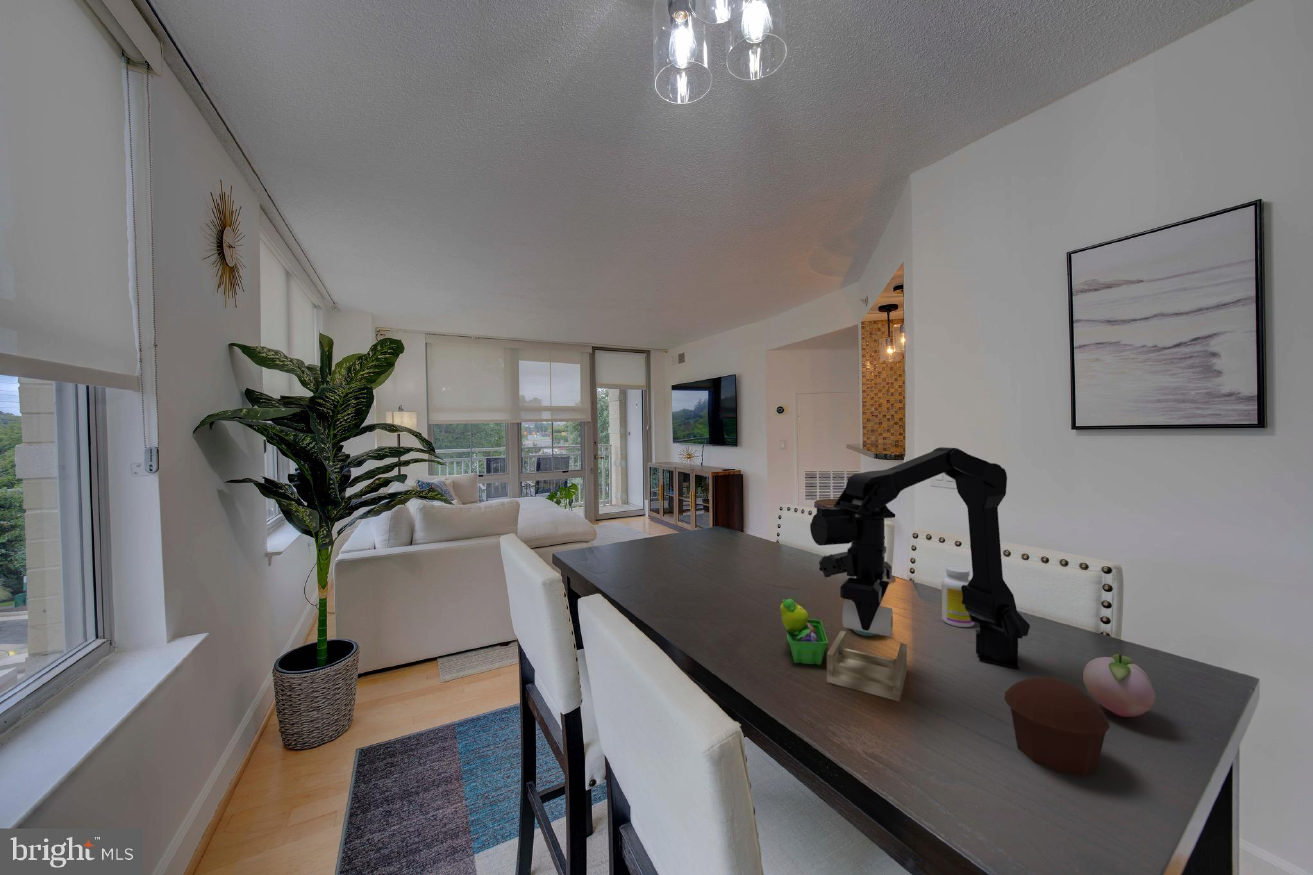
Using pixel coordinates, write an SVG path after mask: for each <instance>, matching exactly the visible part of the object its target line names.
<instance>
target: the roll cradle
mask: <svg viewBox="0 0 1313 875" xmlns="http://www.w3.org/2000/svg"><path fill="white" fill-rule="evenodd" d="M907 646H908V644H907V643H902V642H901V643H900V645H899V648H898V652H897V655H896V657H895V658H890V657H886V656H885V657H884V656H881V655H876V654H872V653H868V652H862V651H858V650H853V649H850V648H847V631H844V630H840V631H839V632H838V635H837V636H836V638H835V639H834V641H833V643H832V644H831V646H830V648H829V649H828V652H827V653H826V682H827V683H829V684H833V685H837V686H840V687H843V688H848V689H851V690H856V691H859V692H864V693H867V694H870V695H873V696H878V697H881V698H885V699H889V700H892V701H897V702H901V697H902V693H903V689H904V684H905V680H906V677H907V668H908V667H907V666H908V665H907V662H908V659H907V656H908V654H907V652H908V649H907V648H908V647H907Z"/></svg>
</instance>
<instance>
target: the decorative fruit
mask: <svg viewBox="0 0 1313 875" xmlns="http://www.w3.org/2000/svg"><path fill="white" fill-rule="evenodd" d="M1082 675H1083V676H1082V679H1083V680H1082V681H1083V684H1084V686H1085V688H1086V690H1087V691H1088V693H1089V694H1090V695H1091V698H1092V699H1095V701H1096V702H1098V703H1099V704H1100V705H1102V706H1103V707H1104V708H1105V709H1107V710H1108V711H1110V712H1112V713H1113V714H1114V715H1117V716H1119V717H1122V718H1123V717H1124V718H1129V717H1130V718H1131V717H1132V718H1133V717H1139V716H1141V715H1143V714H1145V713H1146V712H1148V711H1149V710H1150V709H1151V708H1152V707H1153V705H1154V703H1155V700H1156V692H1155V690H1154V687H1153V685H1152V682H1151V680H1150V678H1149V676H1148V674H1147V673H1146V672H1145V671H1144V670H1143V669H1142V668H1141V667H1140V666H1139V665H1137V664H1136V663H1134V660H1133V659H1132V658H1130V657H1128V656H1125V655H1122V654H1119V653H1117V654H1113V655H1112V656H1111V657H1110V656H1101V657H1096V658H1093V659H1092V660H1089V662H1087V663H1086V665H1085V667H1084V669H1083V673H1082Z"/></svg>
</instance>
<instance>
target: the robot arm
mask: <svg viewBox="0 0 1313 875" xmlns="http://www.w3.org/2000/svg"><path fill="white" fill-rule="evenodd" d="M941 474H944V475H945V476H947V477H949V478H950V479H952V480H954V482H955V483H954V484H955V486H956V490H957V494H958V495H959V496H960V498H961V499H962V501H963V502H964V504H965V505H966V508H967V519H968V530H969V543H970V544H969V545H970V555H971V559H970V560H971V569H972V570H971V571H972V577H971V579H969V580H970V582H969V583H968V584H967V585H962V587H961V590H962V595H963V599H962V604H964V605H965V609H966V611H967V612H968V613H969V616H970V619H971V621H972V622H974V624H978V629H975V654H976V655H978V661H980V662H985V663H988V664H994V665H999V666H1003V667H1007V668H1012V669H1013V668H1014V669H1018V670H1019V669H1020V666H1021V665H1020V662H1019V639H1020V640H1021V639H1023V637H1027V636H1028V634H1029V632H1030V628H1031V625H1030V624H1029V622H1028V621H1027V620H1026V619H1025V618H1024V617H1023V616H1022V615H1021V614H1020V613H1019V611H1018V610H1017V604H1016V601H1015V596H1014V594H1013V592H1012V591H1011V589H1010V587H1009V586H1008V585H1007V583H1006V582H1005V580H1004V577H1003V563H1002V562H1003V561H1002V549H1001V547H1002V546H1001V537H1000V536H1001V535H1000V523H999V522H1000V521H999V510H998V509H999V506H1000V504H1001V503H1002V501H1003V499H1004V498H1005V496H1006V494H1007V487H1008V486H1007V485H1008V483H1007V482H1008V475H1007V474H1008V473H1007V471H1006V468H1003V467H1002V466H1001V465H1000V464H998V463H996V462H995V463H993V462H989V461H987V460H984V459H982V458H979V457H976V456H975V455H971V454H969V453H968V452H966V451H963V449H959V448H957V447H944V446H941V447H936V448H935V449H933V450H932V451H929V452H927V453H925V454H922V455H919V456H917V457H915V458H913V459H910V460H907V461H903V462H901V463H900V464H897V465H895V466H892V467H890V468H889V467H888V468H886V469H882V470H881V469H880V470H870V471H864V472H863V471H862V472H859V473H854V474H852V475H850V476H849V477H848V479H847V482H846V484H845V487H844V489H843V490H842V492H841V494H840V495H839V497H838V498H837V499H836V501H835V503H834V504H833V507H824V506H817V507H816V513H815V514H814V515H813V517H812V519H811V523H809V525H810V526H809V527H810V529H809V531H810V535H811V538H812V540H813V542H814V543H815V544H816V545H818V546H830V545H831V546H833V545H847V544H851V545H850V546H849V547H848V548H847V551H842V552H838V553H834V554H832V553H830V554H828V555H823V556H822V557H821V559H820V560H818V564H819V567H818V569H819V571H820V572H822V574H823V577H824V578H831V577H832V576H835V575H839V574H844V573H846V577H848V578H847V579H845V580H844V581H843V583H842V584H841V585H840V587H839V588H840V589H839V590H840V591H839V592H840V593H839V594H840V598H841V599H843V600H848V601H853V602H854V603H855V606H856V609H857V613H858V616H859V620H860V623H861V627H862V629H863V630H866V631H868V630H869V628H870V626H871V624H872V621H873V619H874V617H875V614H876V612H877V610H878V607H879V606H881V603H882V601H883V599H884V597H885V594H886V593H887V590H888V587H889V586H890V581H887V580H891V579H892V576H893V567H892V566H891V565H890V563H889V562H888V561H886V560H885V556H886V555H885V554H886V553H887V546H886V545H885V540H886V538H885V519H893V518H895V517H896V514H895V512H893V511H892V510H891V509H889V507H888V504H889V503H891V502H892V501H894V500H895V499H897V498H898V496H899V495H900V493H901V492H902V491H904V490H905V489H907V488H910V487H912V486H915V485H917V484H920V483H922V482H924V481H927V480H929V479H931V478H934V477H936V476H939V475H941ZM885 577H886V579H887V580H884V578H885Z"/></svg>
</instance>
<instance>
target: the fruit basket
mask: <svg viewBox="0 0 1313 875" xmlns="http://www.w3.org/2000/svg"><path fill="white" fill-rule="evenodd" d="M781 602H782V603H781V604H780V606H779V607H780V608H779V609H780V613H781V621H782V624H783V626H784V627H785V630H786V636H787V641H788V643H789V647H790V650H791V654H792V659H793V662H794V663H796V664H805V665H807V664H808V665H819V666H821V665H822V662H823V657H824V655H825V652H826V647H827V646H828V643H829V640H828V638H827V635H826V631H825V629H824V625H823V622H822V621H821V620H818V619H811V618H809V614H808V612H807V610H806V609H805V608H803V606H802V605H799V604H798V603H796V602H795V601H794V599H791V598H787V599H785V598H784V599H782V601H781Z"/></svg>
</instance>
